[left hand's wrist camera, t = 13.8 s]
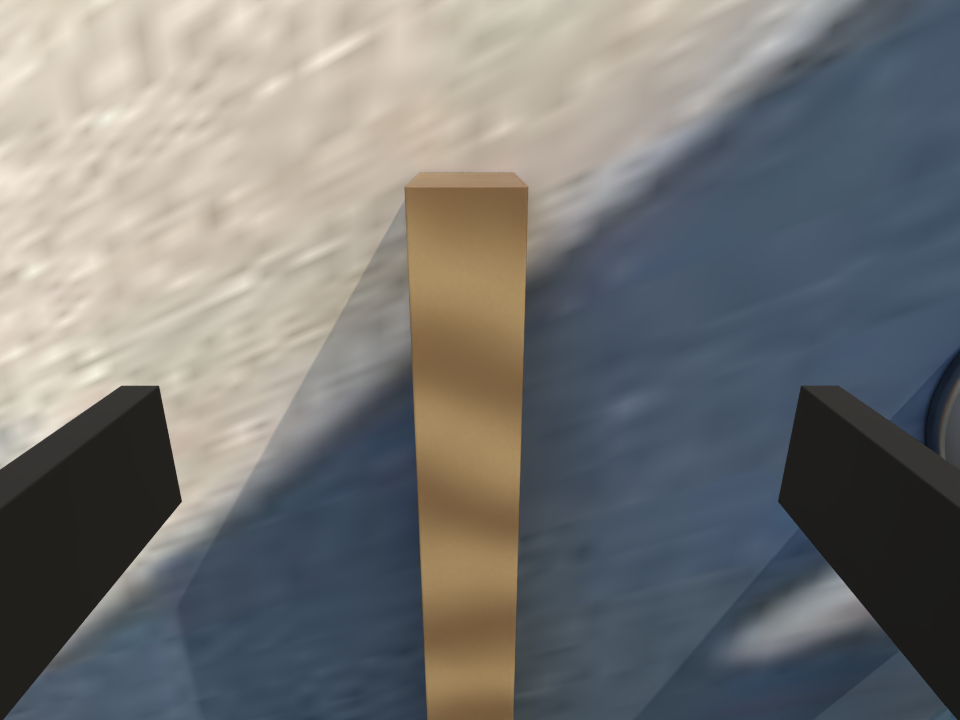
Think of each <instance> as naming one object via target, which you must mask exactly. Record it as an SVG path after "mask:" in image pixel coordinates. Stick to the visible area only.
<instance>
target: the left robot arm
mask: <svg viewBox="0 0 960 720" xmlns="http://www.w3.org/2000/svg"><path fill="white" fill-rule="evenodd" d="M926 440H927V447H926V446H925V445H923V444H922V443H920V442H919V441H918V440H916V439H915V438H913V437H912V436H910V435H909V434H907V433H906V432H905V431H903V430H902V429H900V428H899V427H897V426H896V425H894V424H893V423H892V422H890V421H889V420H887V419H886V418H884V417H883V416H881V415H880V414H879V413H877V412H876V411H874V410H873V409H871V408H870V407H868V406H867V405H866V404H864V403H863V402H861V401H860V400H858V399H857V398H855V397H854V396H853V395H851V394H850V393H848V392H847V391H845V390H844V389H842V388H841V387H840V386H801V389H800V394H799V399H798V404H797V409H796V414H795V419H794V424H793V429H792V434H791V439H790V444H789V449H788V454H787V459H786V464H785V469H784V475H783V480H782V485H781V490H780V495H779V500H778V502H779V503H780V504H781V506H782V507H783V508H784V509H785V511H786V512H787V513H788V514H789V515H790V517H791V518H792V519H793V520H794V522H795V523H796V524H797V525H798V526H799V528H800V529H801V530H802V531H803V532H804V534H805V535H806V536H807V537H808V539H809V540H810V541H811V542H812V543H813V545H814V546H815V547H816V548H817V550H818V551H819V552H820V553H821V554H822V556H823V557H824V558H825V559H826V561H827V562H828V563H829V564H830V565H831V567H832V568H833V569H834V570H835V572H836V573H837V574H838V575H839V576H840V578H841V579H842V580H843V581H844V583H845V584H846V585H847V586H848V587H849V589H850V590H851V591H852V592H853V593H854V595H855V596H856V597H857V598H858V600H859V601H860V602H861V603H862V604H863V606H864V607H865V608H866V609H867V611H868V612H869V613H870V614H871V615H872V617H873V618H874V619H875V620H876V622H877V623H878V624H879V625H880V626H881V628H882V629H883V630H884V631H885V633H886V634H887V635H888V636H889V637H890V639H891V640H892V641H893V642H894V644H895V645H896V646H897V647H898V648H899V650H900V651H901V652H902V653H903V654H904V656H905V657H906V658H907V659H908V661H909V662H910V663H911V664H912V665H913V667H914V668H915V669H916V670H917V672H918V673H919V674H920V675H921V676H922V678H923V679H924V680H925V681H926V683H927V684H928V685H929V686H930V687H931V689H932V690H933V691H934V692H935V694H936V695H937V696H938V697H939V698H940V700H941V701H942V702H943V703H944V705H945V706H943V707H942V708H941V709H940V710H939V711H938V712H936V713H935V714H934V715H933V716H932V717H931V718H930V719H928V720H960V353H959V354H958V355H957V357H956V358H955V359H954V360H953V362H952V363H951V365H950V366H949V368H948V369H947V371H946V372H945V374H944V376H943V378H942V379H941V381H940V383H939V385H938V387H937V390H936V392H935V394H934V397H933V400H932V403H931V406H930V409H929V414H928V419H927V428H926ZM181 502H182V500H181V495H180V490H179V485H178V480H177V475H176V469H175V464H174V459H173V454H172V449H171V444H170V439H169V434H168V429H167V424H166V419H165V414H164V409H163V404H162V399H161V394H160V389H159V386H120V387H119V388H118V389H116V390H115V391H113V392H112V393H110V394H109V395H107V396H106V397H105V398H103V399H102V400H100V401H99V402H97V403H96V404H94V405H93V406H92V407H90V408H89V409H87V410H86V411H84V412H83V413H81V414H80V415H79V416H77V417H76V418H74V419H73V420H71V421H70V422H68V423H67V424H66V425H64V426H63V427H61V428H60V429H58V430H57V431H55V432H54V433H53V434H51V435H50V436H48V437H47V438H45V439H44V440H42V441H41V442H40V443H38V444H37V445H35V446H34V447H32V448H31V449H29V450H28V451H27V452H25V453H24V454H22V455H21V456H19V457H18V458H16V459H15V460H14V461H12V462H11V463H9V464H8V465H6V466H5V467H3V468H2V469H0V720H3V719H4V718H5V717H6V715H7V714H8V713H9V712H10V711H11V709H12V708H13V707H14V706H15V705H16V703H17V702H18V701H19V700H20V698H21V697H22V696H23V695H24V694H25V692H26V691H27V690H28V689H29V687H30V686H31V685H32V684H33V683H34V681H35V680H36V679H37V678H38V676H39V675H40V674H41V673H42V672H43V670H44V669H45V668H46V667H47V665H48V664H49V663H50V662H51V661H52V659H53V658H54V657H55V656H56V654H57V653H58V652H59V651H60V650H61V648H62V647H63V646H64V645H65V644H66V642H67V641H68V640H69V639H70V637H71V636H72V635H73V634H74V633H75V631H76V630H77V629H78V628H79V626H80V625H81V624H82V623H83V622H84V620H85V619H86V618H87V617H88V615H89V614H90V613H91V612H92V611H93V609H94V608H95V607H96V606H97V604H98V603H99V602H100V601H101V600H102V598H103V597H104V596H105V595H106V593H107V592H108V591H109V590H110V589H111V587H112V586H113V585H114V584H115V583H116V581H117V580H118V579H119V578H120V576H121V575H122V574H123V573H124V572H125V570H126V569H127V568H128V567H129V565H130V564H131V563H132V562H133V561H134V559H135V558H136V557H137V556H138V554H139V553H140V552H141V551H142V550H143V548H144V547H145V546H146V545H147V543H148V542H149V541H150V540H151V539H152V537H153V536H154V535H155V534H156V532H157V531H158V530H159V529H160V528H161V526H162V525H163V524H164V523H165V522H166V520H167V519H168V518H169V517H170V515H171V514H172V513H173V512H174V511H175V509H176V508H177V507H178V506H179V504H180V503H181Z"/></svg>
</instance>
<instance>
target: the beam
mask: <svg viewBox="0 0 960 720" xmlns="http://www.w3.org/2000/svg"><path fill="white" fill-rule="evenodd" d="M405 207H406V231H407V254H408V278H409V302H410V325H411V349H412V373H413V396H414V420H415V443H416V467H417V491H418V514H419V538H420V562H421V585H422V609H423V632H424V656H425V680H426V703H427V720H513V707H514V672H515V636H516V601H517V566H518V531H519V495H520V460H521V425H522V389H523V354H524V319H525V283H526V248H527V213H528V186H527V185H526V184H525V183H524V182H523V181H522V180H521V179H520V178H519V177H518V176H517V175H516V174H515V173H419V174H418V175H417V176H416V177H415V178H414V179H412V180H411V181H410V182H409V183H408V184H407V185H406V186H405Z"/></svg>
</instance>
